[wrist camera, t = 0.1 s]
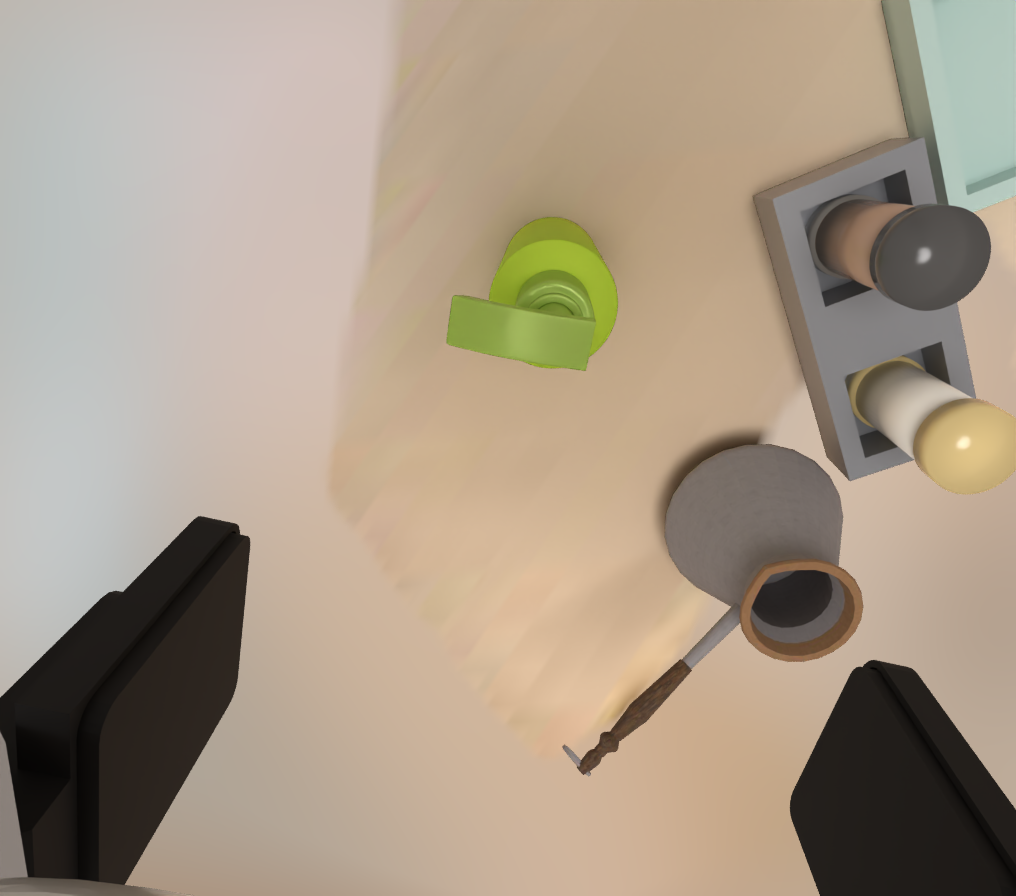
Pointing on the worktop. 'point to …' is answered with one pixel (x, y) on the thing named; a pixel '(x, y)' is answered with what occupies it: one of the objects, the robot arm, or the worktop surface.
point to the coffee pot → (754, 565)
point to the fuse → (936, 425)
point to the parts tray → (959, 92)
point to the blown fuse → (901, 248)
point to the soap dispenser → (541, 300)
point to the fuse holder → (856, 301)
